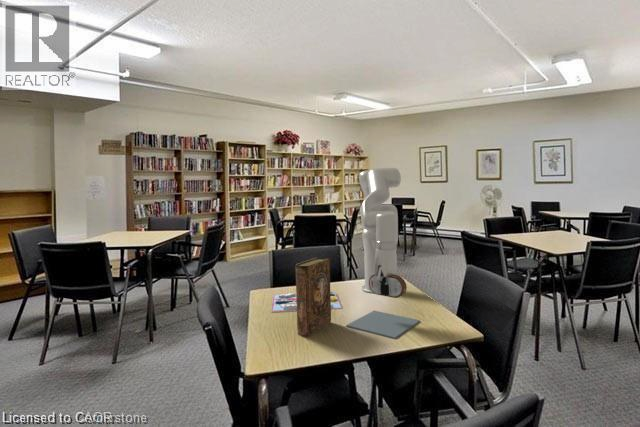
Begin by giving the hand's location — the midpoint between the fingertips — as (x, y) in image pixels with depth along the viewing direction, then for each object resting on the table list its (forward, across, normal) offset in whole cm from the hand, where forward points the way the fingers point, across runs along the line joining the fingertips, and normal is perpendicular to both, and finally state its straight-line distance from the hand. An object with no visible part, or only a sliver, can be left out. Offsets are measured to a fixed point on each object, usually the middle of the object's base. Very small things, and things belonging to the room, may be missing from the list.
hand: (387, 293), depth 144 cm
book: (+11, +21, -19) cm, 31 cm away
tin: (+1, 0, 0) cm, 1 cm away
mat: (+11, +3, 0) cm, 12 cm away
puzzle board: (+12, -1, -42) cm, 44 cm away
